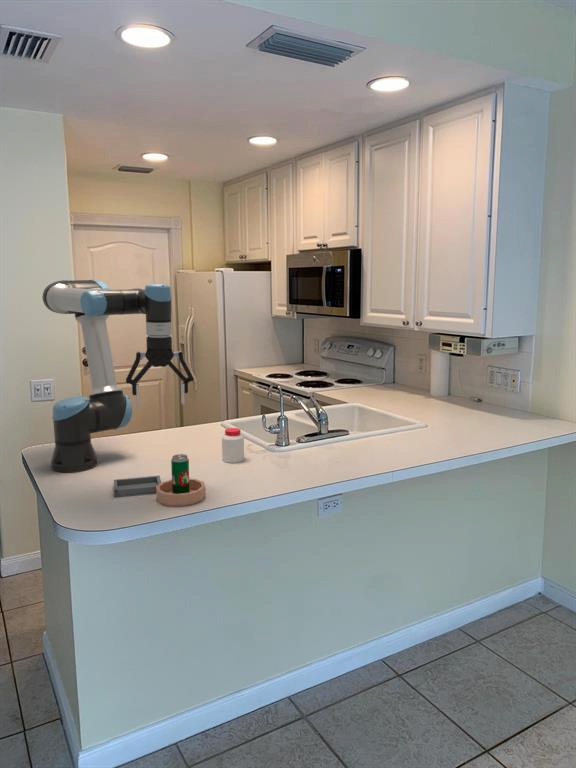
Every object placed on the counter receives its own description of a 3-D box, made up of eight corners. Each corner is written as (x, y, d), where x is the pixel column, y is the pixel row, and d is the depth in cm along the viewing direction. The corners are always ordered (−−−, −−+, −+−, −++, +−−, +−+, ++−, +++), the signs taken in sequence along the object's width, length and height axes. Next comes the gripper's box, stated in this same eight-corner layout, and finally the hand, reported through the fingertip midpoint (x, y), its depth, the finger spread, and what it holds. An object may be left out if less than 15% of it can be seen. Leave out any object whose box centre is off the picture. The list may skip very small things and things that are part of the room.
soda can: (173, 492, 179) (172, 453, 176) (190, 491, 179) (189, 453, 177) (171, 498, 174) (170, 459, 171) (188, 498, 174) (187, 458, 172)
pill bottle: (247, 457, 215) (247, 428, 213) (238, 463, 208) (238, 433, 206) (227, 455, 217) (227, 426, 216) (218, 461, 210) (218, 431, 208)
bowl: (158, 508, 168) (158, 497, 167) (155, 491, 181) (154, 481, 180) (208, 503, 172) (208, 491, 171) (201, 487, 185) (201, 476, 184)
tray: (114, 496, 177) (114, 490, 176) (114, 485, 186) (113, 479, 186) (162, 492, 181) (162, 485, 180) (159, 481, 190) (159, 475, 190)
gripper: (116, 338, 172) (118, 409, 177) (202, 336, 179) (202, 405, 183) (116, 334, 179) (118, 403, 184) (198, 333, 186) (199, 399, 191)
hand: (160, 404), depth 184 cm, fingers open, 13 cm apart
